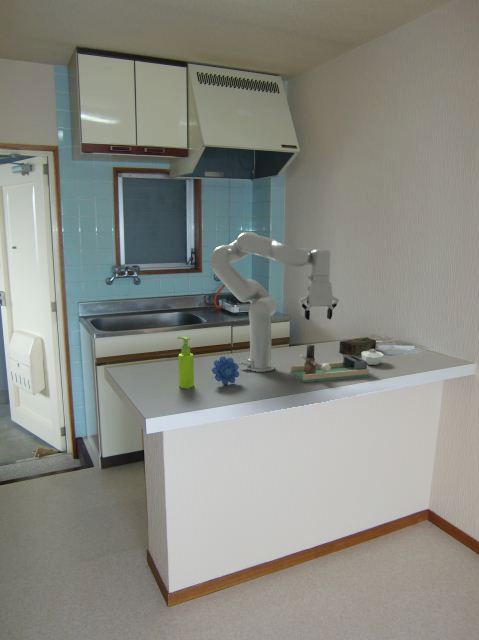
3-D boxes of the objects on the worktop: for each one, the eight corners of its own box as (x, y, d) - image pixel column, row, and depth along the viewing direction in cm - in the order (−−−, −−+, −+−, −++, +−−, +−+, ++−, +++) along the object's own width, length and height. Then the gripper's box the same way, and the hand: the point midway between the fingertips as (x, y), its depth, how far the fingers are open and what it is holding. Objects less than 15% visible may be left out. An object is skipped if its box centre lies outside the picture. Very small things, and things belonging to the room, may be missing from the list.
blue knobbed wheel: (215, 389, 200) (215, 360, 198) (210, 384, 206) (209, 355, 204) (243, 386, 204) (243, 357, 202) (237, 381, 211) (237, 353, 208)
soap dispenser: (184, 382, 209) (183, 334, 205) (196, 385, 205) (196, 337, 201) (174, 385, 205) (173, 337, 201) (186, 389, 200) (185, 339, 196)
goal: (355, 374, 217) (355, 360, 216) (342, 367, 227) (343, 354, 226) (366, 372, 218) (367, 359, 217) (353, 366, 229) (354, 353, 227)
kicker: (316, 380, 207) (317, 351, 205) (297, 367, 225) (298, 340, 223) (323, 379, 208) (324, 350, 206) (304, 366, 226) (304, 340, 224)
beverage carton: (376, 351, 261) (377, 338, 259) (349, 356, 250) (350, 343, 249) (364, 348, 267) (365, 335, 266) (338, 353, 257) (338, 340, 255)
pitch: (303, 382, 208) (303, 375, 208) (290, 373, 222) (290, 366, 221) (368, 376, 217) (368, 369, 216) (352, 367, 230) (352, 360, 230)
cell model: (359, 366, 232) (360, 352, 231) (362, 359, 244) (362, 346, 242) (382, 368, 229) (383, 354, 228) (384, 361, 240) (384, 347, 239)
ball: (323, 374, 216) (324, 365, 215) (319, 371, 220) (319, 362, 219) (332, 373, 217) (332, 364, 217) (328, 370, 221) (328, 362, 220)
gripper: (303, 280, 208) (301, 321, 211) (343, 279, 211) (340, 320, 214) (297, 278, 215) (296, 317, 218) (336, 277, 218) (334, 316, 222)
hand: (318, 319), depth 216 cm, fingers open, 9 cm apart
